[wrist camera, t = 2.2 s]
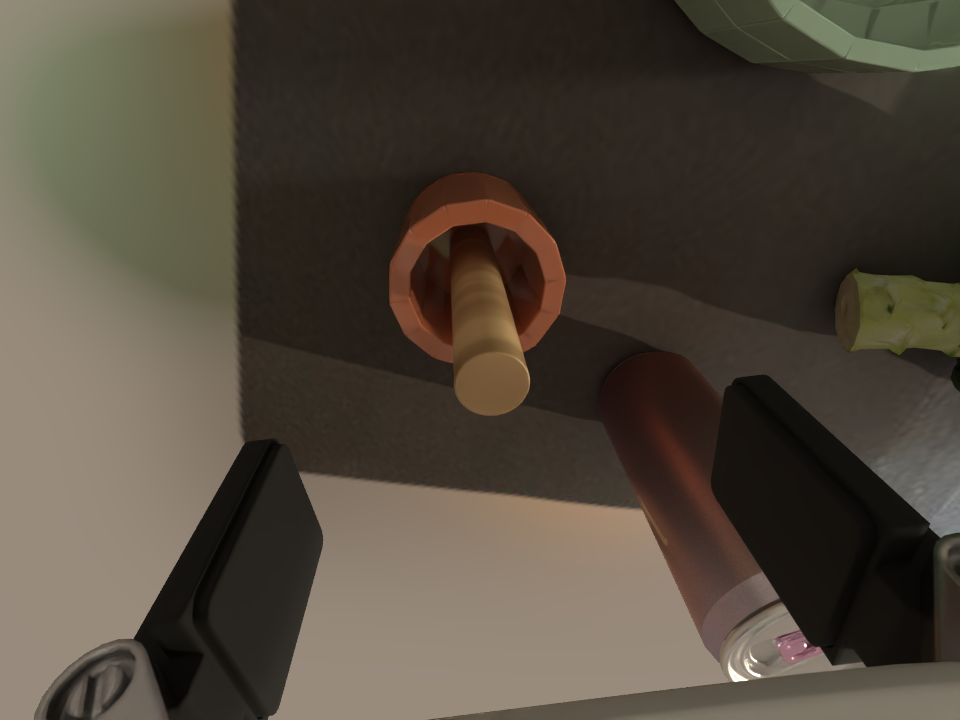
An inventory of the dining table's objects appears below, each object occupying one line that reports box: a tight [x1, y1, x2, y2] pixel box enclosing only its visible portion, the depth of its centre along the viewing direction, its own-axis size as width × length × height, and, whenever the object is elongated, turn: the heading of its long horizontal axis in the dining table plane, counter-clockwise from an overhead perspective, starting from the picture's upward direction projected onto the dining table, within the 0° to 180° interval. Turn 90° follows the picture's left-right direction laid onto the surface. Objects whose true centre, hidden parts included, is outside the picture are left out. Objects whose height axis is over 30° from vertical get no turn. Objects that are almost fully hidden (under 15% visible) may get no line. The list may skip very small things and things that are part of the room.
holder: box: [389, 172, 566, 363], centre depth 21 cm, size 7×7×6 cm
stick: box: [450, 226, 530, 416], centre depth 18 cm, size 2×2×12 cm
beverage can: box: [598, 352, 866, 682], centre depth 22 cm, size 6×6×15 cm
